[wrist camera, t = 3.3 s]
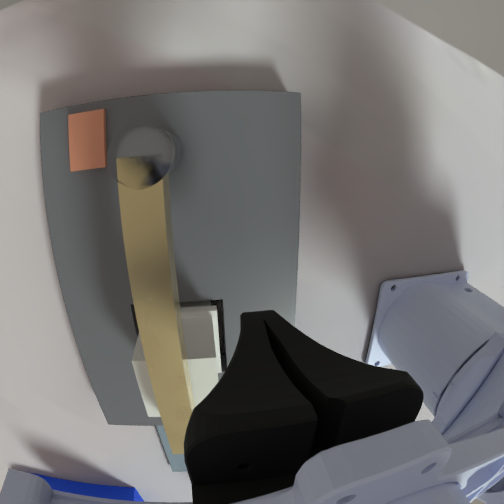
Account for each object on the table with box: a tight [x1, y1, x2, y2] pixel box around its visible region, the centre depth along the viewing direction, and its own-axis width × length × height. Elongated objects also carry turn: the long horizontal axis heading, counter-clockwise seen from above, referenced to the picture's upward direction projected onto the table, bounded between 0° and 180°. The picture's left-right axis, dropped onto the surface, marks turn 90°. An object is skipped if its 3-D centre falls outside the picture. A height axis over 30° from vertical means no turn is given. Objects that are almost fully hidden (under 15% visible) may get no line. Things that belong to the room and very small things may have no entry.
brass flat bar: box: [107, 123, 195, 454], centre depth 14 cm, size 2×14×6 cm, turn 1°
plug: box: [132, 300, 222, 417], centre depth 18 cm, size 5×7×6 cm
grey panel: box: [40, 90, 301, 426], centre depth 18 cm, size 14×22×2 cm, turn 0°
